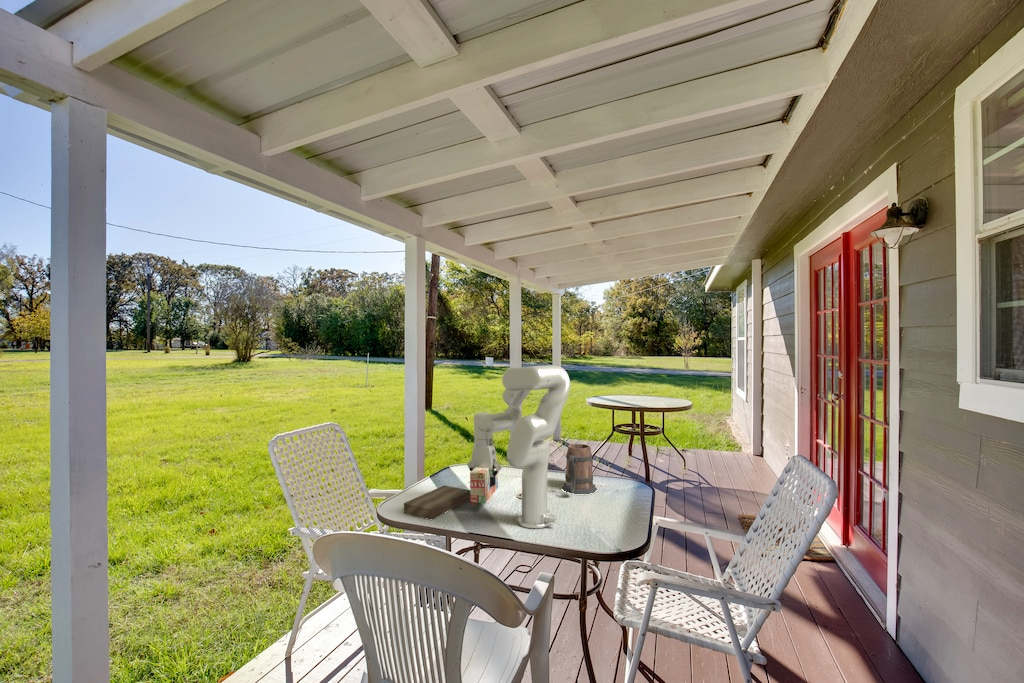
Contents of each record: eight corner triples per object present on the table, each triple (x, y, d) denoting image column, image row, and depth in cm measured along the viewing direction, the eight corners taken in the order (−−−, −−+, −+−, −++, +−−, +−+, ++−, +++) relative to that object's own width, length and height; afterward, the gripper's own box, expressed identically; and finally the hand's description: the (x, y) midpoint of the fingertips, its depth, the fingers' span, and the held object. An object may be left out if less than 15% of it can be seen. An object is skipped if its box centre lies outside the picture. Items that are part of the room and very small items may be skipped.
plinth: (470, 499, 197) (470, 490, 197) (431, 520, 174) (431, 509, 174) (444, 494, 204) (444, 485, 204) (403, 513, 181) (403, 503, 181)
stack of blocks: (484, 487, 204) (484, 459, 204) (498, 488, 203) (497, 460, 203) (470, 502, 183) (469, 471, 183) (485, 503, 182) (484, 472, 182)
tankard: (567, 481, 223) (567, 440, 223) (601, 486, 215) (602, 444, 216) (550, 496, 202) (550, 450, 202) (587, 502, 194) (587, 455, 194)
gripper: (505, 442, 192) (506, 484, 191) (471, 439, 200) (472, 480, 200) (496, 445, 185) (497, 489, 185) (461, 442, 194) (462, 484, 193)
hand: (484, 484), depth 192 cm, fingers closed on stack of blocks, 7 cm apart
